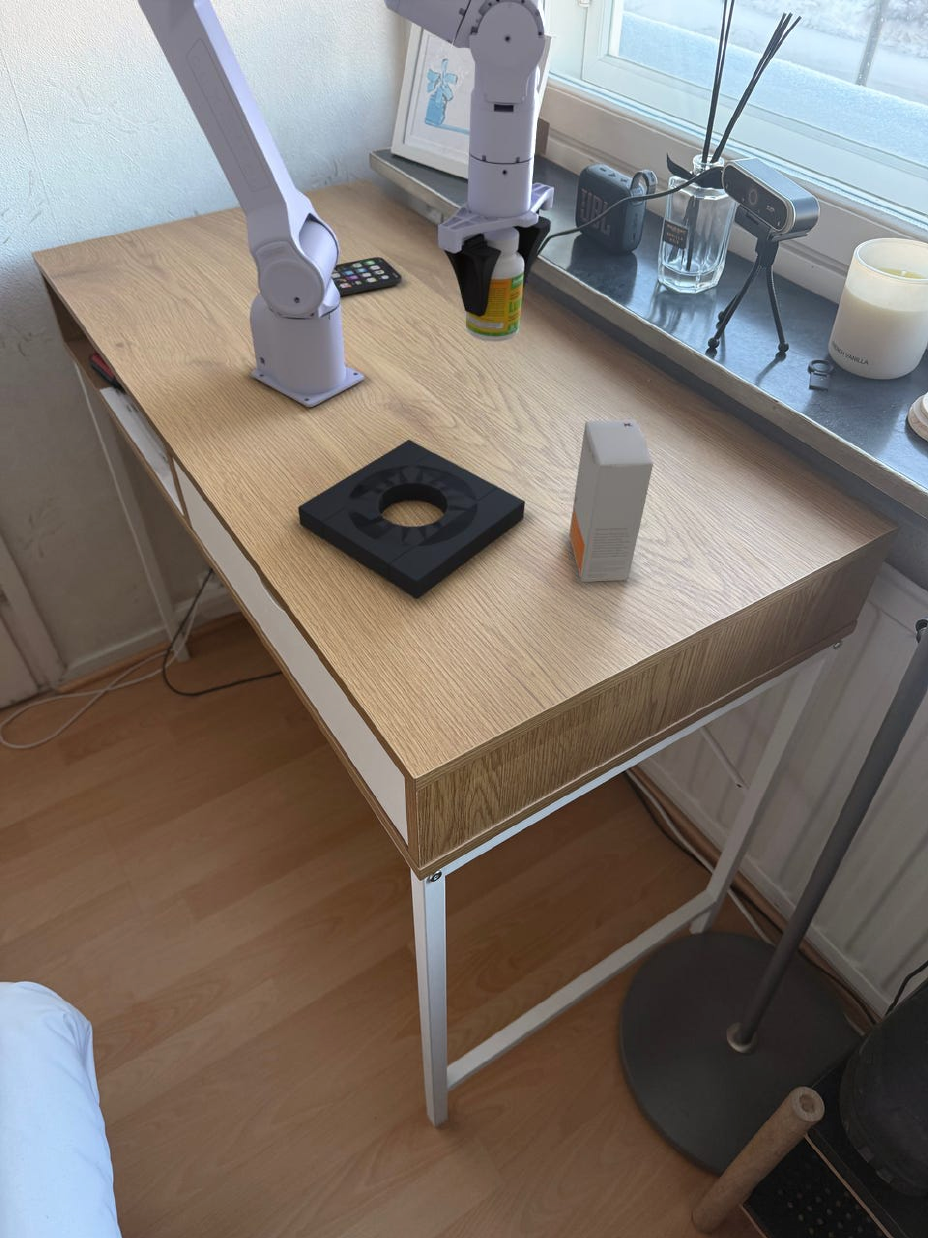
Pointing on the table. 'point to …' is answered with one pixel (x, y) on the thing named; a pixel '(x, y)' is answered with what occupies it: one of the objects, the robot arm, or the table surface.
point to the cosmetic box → (609, 499)
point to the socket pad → (418, 550)
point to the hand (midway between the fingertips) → (493, 302)
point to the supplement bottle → (501, 291)
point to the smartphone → (364, 275)
